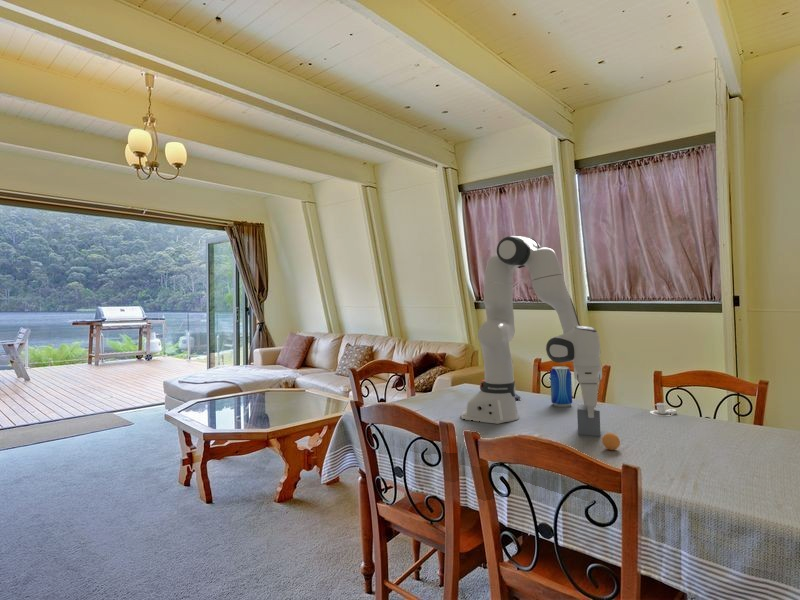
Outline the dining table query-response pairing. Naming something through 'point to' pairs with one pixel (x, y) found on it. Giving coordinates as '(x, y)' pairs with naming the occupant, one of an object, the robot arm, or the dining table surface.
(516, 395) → the woven mat
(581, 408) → the grey rectangular block
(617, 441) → the ball
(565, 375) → the beer can
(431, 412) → the dining table surface
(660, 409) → the teacup and saucer
